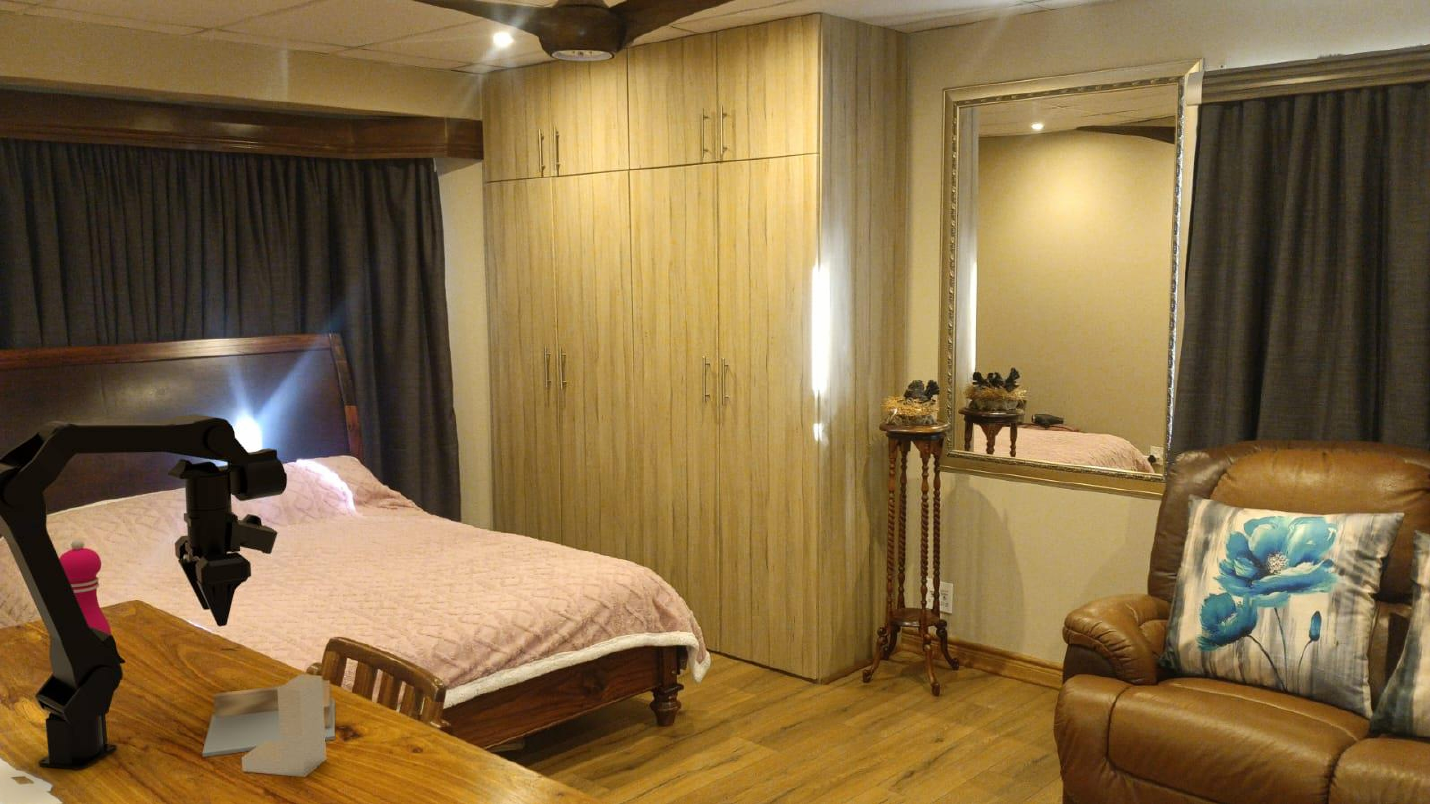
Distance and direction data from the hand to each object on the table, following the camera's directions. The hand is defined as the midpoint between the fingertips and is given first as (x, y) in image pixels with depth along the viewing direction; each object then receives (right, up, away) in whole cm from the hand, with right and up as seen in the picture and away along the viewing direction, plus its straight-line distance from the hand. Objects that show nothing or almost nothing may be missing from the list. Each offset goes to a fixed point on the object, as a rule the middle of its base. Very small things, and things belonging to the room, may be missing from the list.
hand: (214, 617), depth 161 cm
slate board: (+10, -14, -5) cm, 18 cm away
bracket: (+16, -16, -16) cm, 27 cm away
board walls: (+9, -14, -3) cm, 17 cm away
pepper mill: (-29, -11, +21) cm, 38 cm away
